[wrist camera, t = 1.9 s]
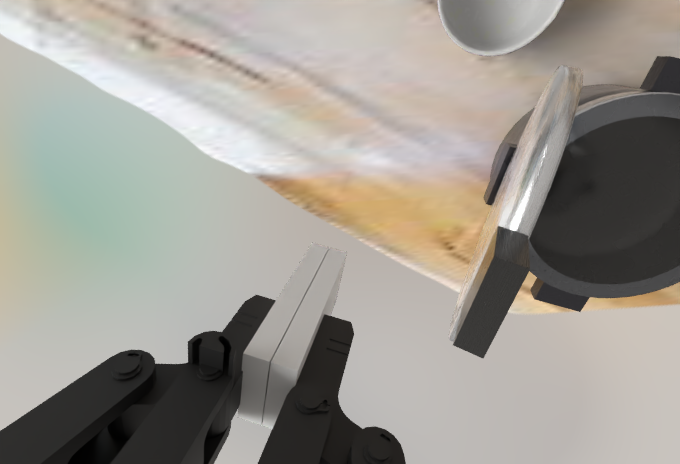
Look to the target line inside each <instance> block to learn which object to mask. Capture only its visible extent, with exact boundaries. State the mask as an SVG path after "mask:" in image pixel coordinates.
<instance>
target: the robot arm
mask: <svg viewBox="0 0 680 464" xmlns="http://www.w3.org/2000/svg"><path fill="white" fill-rule="evenodd" d="M346 255H347V252H345V251H341V250H337V249H333V248H329V247H326V246H323V245H319V244H316V243H312V244H311V245H310V247H309V249H308V250H307V252H306V254H305V255H304V257H303V258H302V260H301V261H300V263H299V265H298V266H297V268H296V269H295V271H294V273H293V275H292V276H291V277H290V279H289V281H288V282H287V284H286V286H285V287H284V289H283V290H282V292H281V293H280V295H279V297H278V298H277V300H272V299H269V298H265V297H262V296H259V295H256V296H254V297H252V298H250V299H249V300H247V301H245V303H244V304H243V305H242V306H241V308H240V309H239V310H238V312H237V313H236V314H235V316H234V317H233V318H232V320H231V321H230V322H229V324H228V325H227V326H226V328H225V329H224V330H223V332H217V331H209V332H203V333H201V334H198V335H196V336H194V337H193V338H192V339H191V340H190V341H188V363H185V364H155V360H154V358H153V357H152V356H151V354H150V353H148V352H144V351H142V350H128V351H124V352H120V353H118V354H116V355H114V356H112V357H110V358H109V359H107V360H106V361H105V362H103V363H101V364H100V365H98V366H97V367H96V368H94V369H93V370H91V371H89V372H88V373H87V374H85V375H83V376H82V377H80V378H79V379H77V380H76V381H74V382H73V383H71V384H70V385H68V386H67V387H66V388H64V389H62V390H61V391H60V392H58V393H56V394H55V395H54V396H52V397H51V398H49V399H48V400H46V401H45V402H43V403H42V404H40V405H39V406H37V407H36V408H34V409H33V410H31V411H30V412H28V413H27V414H25V415H24V416H22V417H21V418H19V419H18V420H16V421H15V422H13V423H12V424H10V425H9V426H7V427H6V428H4V429H3V430H1V431H0V464H214V462H215V460H216V458H217V456H218V454H219V452H220V450H221V449H222V446H223V445H224V443H225V441H226V439H227V437H228V435H229V431H230V428H231V420H232V418H233V416H234V415H235V413H236V411H237V409H238V418H241V419H244V420H247V421H250V422H253V423H256V424H258V425H261V424H262V426H264V427H267V428H270V429H272V431H271V434H270V436H269V438H268V441H267V443H266V445H265V448H264V450H263V452H262V455H261V457H260V460H259V462H258V464H406V463H405V457H404V453H403V450H402V447H401V444H400V443H399V442H398V440H397V439H396V438H395V437H394V435H392V434H391V433H389V432H388V431H387V430H385V429H382V428H378V427H366V428H365V429H362V428H360V427H359V426H358V425H356V424H355V423H353V422H352V421H351V420H350V419H349V418H348V417H346V415H345V414H344V413H343V411H342V410H341V407H340V405H339V401H338V392H339V388H340V384H341V380H342V377H343V373H344V369H345V365H346V362H347V358H348V354H349V351H350V347H351V343H352V339H353V336H354V332H353V328H352V324H351V322H349V321H345V320H342V319H339V318H335V317H332V316H331V313H332V310H333V308H334V305H335V302H336V298H337V293H338V290H339V285H340V281H341V276H342V272H343V268H344V264H345V259H346ZM262 422H263V423H262Z"/></svg>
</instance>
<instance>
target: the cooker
mask: <svg viewBox="0 0 680 464" xmlns="http://www.w3.org/2000/svg"><path fill="white" fill-rule="evenodd" d="M534 109H535V108H533V109H532V110H531V111H530V112H528V113H527V114H526V115H524V116H523V117H522V118H521V119H520V120H519V121H518V122H517V123H516V124H515V125H514V126H513V128H512V129H511V130H510V131H509V133H508V134H507V135H506V137H505V138H504V140H503V142H502V143H501V145H500V147H499V149H498V151H497V153H496V155H495V159H494V162H493V165H492V170H491V177H490V182H489V185H488V187H487V190H486V192H485V195H484V200H485V202H486V204H488V205H492V204H493V201H494V199H495V196H496V194H497V191H498V189H499V187H500V184H501V182H502V179H503V177H504V175H505V172H506V170H507V168H508V165H509V163H510V161H511V158H512V156H513V154H514V152H515V149H516V147H517V145H518V143H519V140H520V138H521V136H522V134H523V132H524V130H525V127H526V125H527V123H528V121H529V119H530V117H531V115H532V113H533V111H534ZM528 242H529V258H530V270H529V271H530V272H531V273H533V274H534V275H535V276H536V277H537V279H536V281H535V283H534V284H533V286H532V288H531V292H532V295H533V297H534V299H536V300H539V301H543V302H547V303H550V304H554V305H557V306H561V307H565V308H568V309H572V310H575V311H579V312H580V311H581V310H582V308H583V307H584V305H585V304H586V302H587V301H588V299H589V297H595V298H620V297H630V296H636V295H642V294H646V293H650V292H653V291H657V290H660V289H663V288H666V287H669V286H671V285H674V284H676V283H678V282H680V59H679V58H674V57H661V56H657V58H656V60H655V61H654V63H653V65H652V67H651V69H650V71H649V73H648V74H647V76H646V78H645V80H644V82H643V84H642V85H641V87H640V89H637V88H631V87H624V86H617V85H593V86H585V87H582V89H581V95H580V99H579V103H578V107H577V111H576V114H575V118H574V121H573V124H572V128H571V131H570V134H569V137H568V140H567V143H566V146H565V149H564V152H563V155H562V158H561V160H560V163H559V166H558V169H557V171H556V174H555V177H554V179H553V182H552V185H551V187H550V190H549V192H548V195H547V197H546V200H545V202H544V205H543V207H542V210H541V212H540V214H539V217H538V219H537V221H536V224H535V226H534V228H533V231H532V233H531V235H530V238H529V240H528Z"/></svg>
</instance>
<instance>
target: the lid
mask: <svg viewBox="0 0 680 464" xmlns="http://www.w3.org/2000/svg"><path fill="white" fill-rule="evenodd" d="M582 83H583V73H582V70H581V69H579V68H574V67H569V66H564V65H561V66H559V67H558V69H557V70H556V71H555V73H554V74H553V76H552V77H551V79H550V80H549V82H548V84H547V86H546V87H545V89H544V91H543V93H542V95H541V97H540V99H539V101H538V103H537V105H536V107H535V109H534V111H533V113H532V115H531V117H530V119H529V121H528V123H527V125H526V127H525V130H524V132H523V134H522V136H521V138H520V140H519V143H518V145H517V147H516V149H515V152H514V154H513V156H512V158H511V161H510V163H509V165H508V168H507V170H506V172H505V175H504V177H503V179H502V182H501V184H500V187H499V189H498V191H497V194H496V196H495V199H494V201H493V204H492V206H491V209H490V211H489V214H488V216H487V219H486V221H485V224H484V226H483V229H482V232H481V234H480V237H479V239H478V242H477V245H476V247H475V250H474V253H473V256H472V258H471V261H470V264H469V267H468V270H467V272H466V275H465V278H464V281H463V284H462V287H461V290H460V293H459V297H458V300H457V303H456V307H455V310H454V314H453V317H452V321H451V325H450V331H449V339H450V340H451V341H453V342H454V344H453V345H454V346H456V347H459V348H461V349H463V350H465V351H468V352H470V353H472V354H474V355H477V356H479V357H481V358H484V356H485V354H486V352H487V350H488V348H489V346H490V345H491V342H492V341H493V339H494V337H495V335H496V333H497V331H498V329H499V327H500V325H501V324H502V322H503V320H504V318H505V316H506V314H507V312H508V310H509V308H510V306H511V304H512V303H513V301H514V299H515V297H516V295H517V293H518V291H519V289H520V287H521V285H522V283H523V282H524V280H525V278H526V276H527V274H528V272H529V270H530V258H529V242H528V240H529V238H530V235H531V233H532V231H533V228H534V226H535V224H536V221H537V219H538V217H539V214H540V212H541V210H542V207H543V205H544V202H545V200H546V197H547V195H548V192H549V190H550V187H551V185H552V182H553V179H554V177H555V174H556V171H557V169H558V166H559V163H560V160H561V158H562V155H563V152H564V149H565V146H566V143H567V140H568V137H569V134H570V131H571V128H572V124H573V121H574V118H575V114H576V111H577V107H578V103H579V99H580V95H581V89H582Z"/></svg>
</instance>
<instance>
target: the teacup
mask: <svg viewBox="0 0 680 464" xmlns="http://www.w3.org/2000/svg"><path fill="white" fill-rule="evenodd" d="M564 1H565V0H438V11H439V16H440V20H441V22H442V25H443V27H444V29H445V31H446V33H447V34H448V36H449V37H450V38H451V39H452V40H453V41H454V42H455V43H456V44H457V45H458V46H459V47H461V48H462V49H464V50H465V51H467V52H469V53H472V54H476V55H480V56H499V55H503V54H507V53H511V52H513V51H516V50H518V49H520V48H522V47H524V46H525V45H527V44H528V43H530V42H531V41H533V40H534V39H535V38H536V37H537V36H539V35H540V34H541V33H542V32H543V31H544V30H545V29H546V28H547V27H548V26H549V25H550V24H551V22H552V21H553V20H554V19H555V17H556V16H557V14H558V12H559V11H560V9H561V7H562V5H563V3H564Z"/></svg>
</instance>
